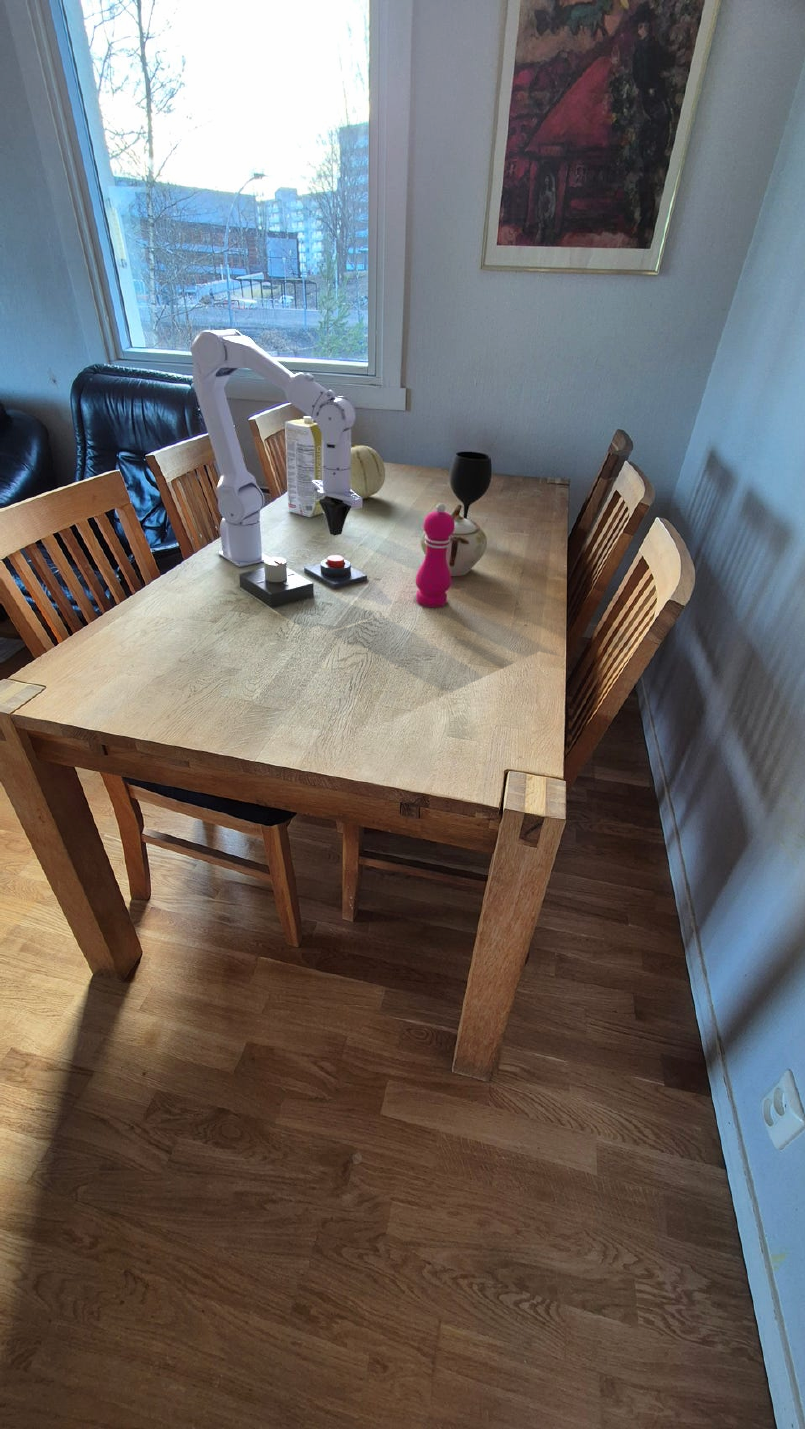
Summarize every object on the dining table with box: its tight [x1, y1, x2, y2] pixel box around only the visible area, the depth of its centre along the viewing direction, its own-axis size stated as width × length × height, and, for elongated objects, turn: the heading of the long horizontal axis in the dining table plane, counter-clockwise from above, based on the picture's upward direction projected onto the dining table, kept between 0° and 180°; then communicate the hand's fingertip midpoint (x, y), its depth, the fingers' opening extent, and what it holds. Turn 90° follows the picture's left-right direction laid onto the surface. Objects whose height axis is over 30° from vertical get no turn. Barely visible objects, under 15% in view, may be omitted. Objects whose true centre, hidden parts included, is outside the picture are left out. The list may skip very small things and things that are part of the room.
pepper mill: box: [415, 503, 455, 608], centre depth 122 cm, size 7×7×20 cm
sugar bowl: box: [420, 503, 488, 577], centre depth 139 cm, size 20×15×15 cm
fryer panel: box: [238, 567, 315, 609], centre depth 125 cm, size 12×10×3 cm
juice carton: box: [284, 415, 325, 518], centre depth 163 cm, size 9×8×24 cm
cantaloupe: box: [350, 442, 386, 500], centre depth 180 cm, size 15×15×15 cm
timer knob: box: [263, 556, 288, 582], centre depth 123 cm, size 4×4×4 cm
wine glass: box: [449, 450, 493, 519], centre depth 157 cm, size 10×10×20 cm
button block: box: [303, 558, 368, 590], centre depth 134 cm, size 11×9×3 cm
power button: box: [326, 554, 345, 567], centre depth 133 cm, size 4×4×2 cm
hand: (335, 534), depth 129 cm, fingers closed
